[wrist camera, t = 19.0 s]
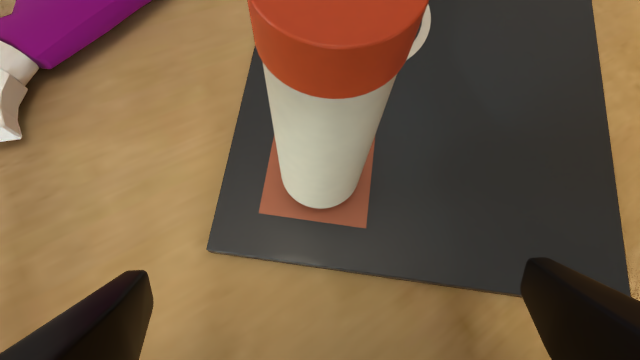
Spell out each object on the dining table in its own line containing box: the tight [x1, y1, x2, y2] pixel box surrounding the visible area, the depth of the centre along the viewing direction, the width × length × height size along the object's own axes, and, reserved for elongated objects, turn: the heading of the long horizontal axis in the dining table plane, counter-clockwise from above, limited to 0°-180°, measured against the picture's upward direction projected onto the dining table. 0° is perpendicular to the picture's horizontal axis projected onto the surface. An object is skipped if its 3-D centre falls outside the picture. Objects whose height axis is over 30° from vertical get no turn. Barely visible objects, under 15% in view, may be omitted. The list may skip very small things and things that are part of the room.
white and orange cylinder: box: [247, 0, 429, 209], centre depth 13 cm, size 4×4×12 cm
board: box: [207, 0, 631, 297], centre depth 21 cm, size 19×19×1 cm
